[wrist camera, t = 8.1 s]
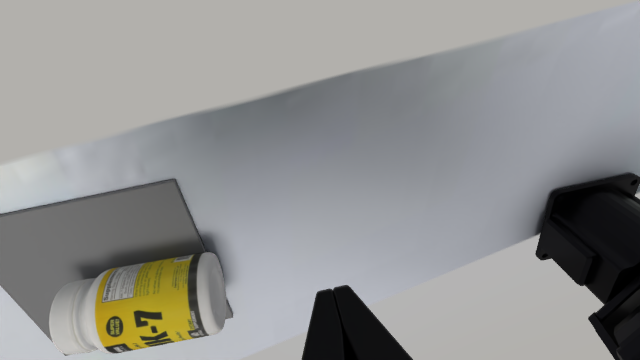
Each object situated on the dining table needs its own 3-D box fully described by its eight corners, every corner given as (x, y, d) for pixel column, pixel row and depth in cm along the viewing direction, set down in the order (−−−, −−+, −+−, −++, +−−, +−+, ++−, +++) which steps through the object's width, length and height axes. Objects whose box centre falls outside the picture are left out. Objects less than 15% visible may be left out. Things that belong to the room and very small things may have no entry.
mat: (174, 178, 20) (173, 181, 20) (233, 314, 27) (232, 317, 26) (-49, 224, 19) (-53, 228, 19) (67, 351, 26) (65, 355, 26)
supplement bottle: (226, 349, 21) (77, 378, 20) (229, 282, 25) (102, 305, 24) (203, 301, 18) (28, 334, 18) (210, 234, 22) (66, 259, 21)
